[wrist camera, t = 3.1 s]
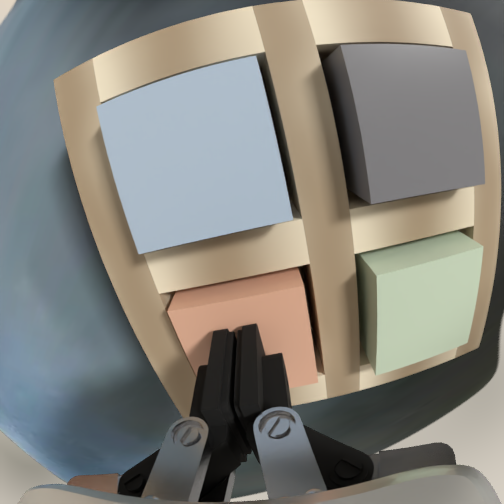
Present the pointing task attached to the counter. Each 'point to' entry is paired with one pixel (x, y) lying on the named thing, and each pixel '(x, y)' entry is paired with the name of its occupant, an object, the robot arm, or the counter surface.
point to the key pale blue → (196, 156)
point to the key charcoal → (405, 119)
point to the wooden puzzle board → (296, 176)
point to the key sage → (417, 298)
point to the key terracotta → (249, 319)
